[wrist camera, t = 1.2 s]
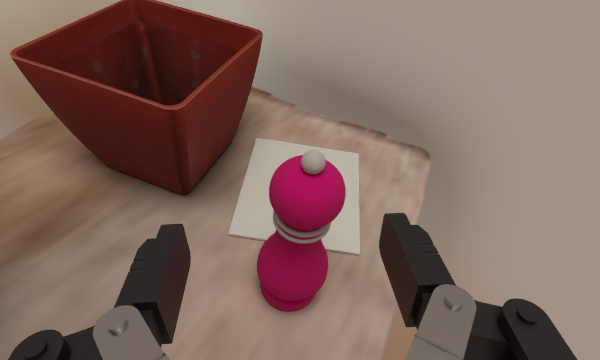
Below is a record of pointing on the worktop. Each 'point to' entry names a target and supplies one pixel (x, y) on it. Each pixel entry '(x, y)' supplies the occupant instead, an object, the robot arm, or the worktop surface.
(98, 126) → the plant pot
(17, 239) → the worktop surface
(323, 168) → the pepper mill
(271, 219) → the mat
